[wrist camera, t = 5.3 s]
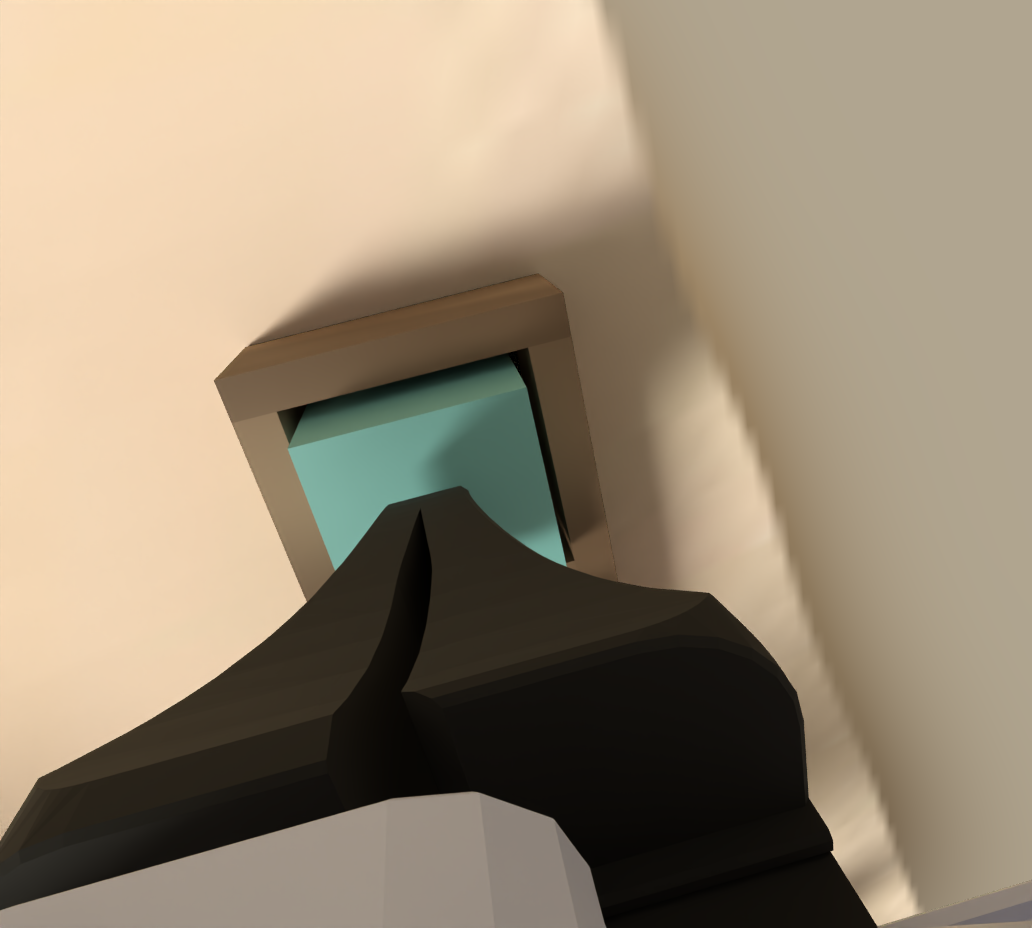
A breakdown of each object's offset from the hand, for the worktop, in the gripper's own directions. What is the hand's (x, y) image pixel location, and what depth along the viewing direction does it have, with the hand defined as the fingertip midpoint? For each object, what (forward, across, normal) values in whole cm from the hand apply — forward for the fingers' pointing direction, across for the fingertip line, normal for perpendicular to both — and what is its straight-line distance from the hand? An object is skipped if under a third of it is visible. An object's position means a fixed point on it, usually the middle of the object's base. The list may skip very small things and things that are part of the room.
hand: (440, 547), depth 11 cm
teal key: (+3, 0, 0) cm, 3 cm away
